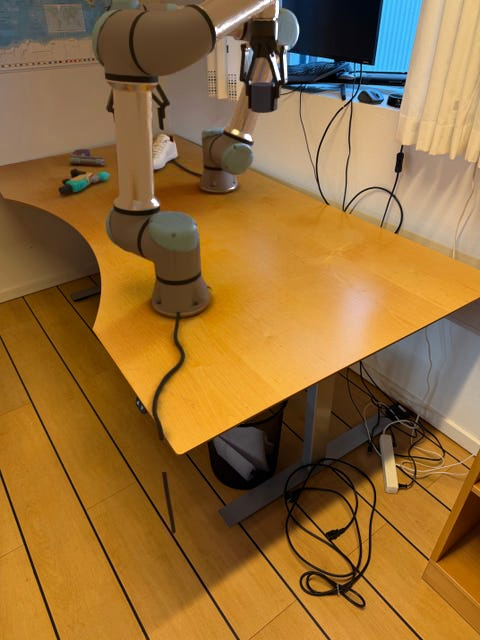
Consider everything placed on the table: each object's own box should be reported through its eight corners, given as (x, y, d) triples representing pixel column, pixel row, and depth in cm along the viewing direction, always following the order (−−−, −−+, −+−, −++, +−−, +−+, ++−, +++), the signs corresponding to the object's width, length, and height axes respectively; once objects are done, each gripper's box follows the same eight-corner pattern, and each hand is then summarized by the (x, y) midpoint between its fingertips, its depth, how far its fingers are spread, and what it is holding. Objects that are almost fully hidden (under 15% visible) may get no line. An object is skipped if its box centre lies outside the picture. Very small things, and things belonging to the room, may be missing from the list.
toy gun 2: (37, 182, 187) (65, 188, 181) (83, 164, 205) (110, 169, 200) (39, 193, 189) (67, 200, 184) (85, 174, 208) (111, 179, 202)
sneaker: (133, 173, 208) (129, 144, 201) (161, 153, 230) (158, 127, 223) (155, 175, 205) (151, 146, 198) (180, 155, 227) (178, 129, 220)
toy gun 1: (116, 157, 226) (102, 168, 214) (79, 155, 229) (64, 165, 217) (114, 149, 224) (100, 159, 212) (78, 147, 227) (62, 157, 215)
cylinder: (265, 106, 148) (266, 81, 144) (278, 111, 143) (279, 84, 139) (246, 109, 145) (246, 83, 141) (259, 114, 140) (259, 87, 136)
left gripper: (303, 19, 130) (297, 109, 143) (237, 17, 137) (238, 103, 150) (294, 21, 124) (289, 114, 138) (225, 19, 131) (227, 108, 145)
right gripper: (93, 63, 136) (106, 139, 149) (175, 57, 145) (181, 129, 157) (88, 60, 142) (101, 133, 154) (167, 54, 150) (174, 124, 163)
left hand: (262, 108), depth 144 cm, fingers closed on cylinder, 7 cm apart
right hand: (141, 131), depth 156 cm, fingers open, 13 cm apart
